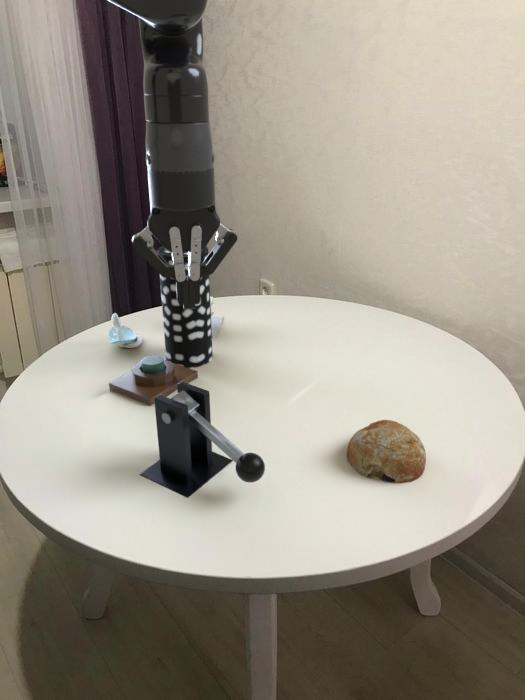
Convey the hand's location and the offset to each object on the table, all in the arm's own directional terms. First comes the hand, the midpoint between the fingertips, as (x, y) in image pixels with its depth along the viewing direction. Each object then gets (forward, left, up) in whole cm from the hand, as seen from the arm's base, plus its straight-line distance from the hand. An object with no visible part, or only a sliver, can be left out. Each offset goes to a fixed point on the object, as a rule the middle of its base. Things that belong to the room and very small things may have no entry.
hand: (188, 306), depth 74 cm
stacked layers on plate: (+31, +26, -20) cm, 45 cm away
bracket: (-7, -4, -20) cm, 21 cm away
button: (+7, +15, -16) cm, 23 cm away
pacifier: (+17, +32, -20) cm, 41 cm away
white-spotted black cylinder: (+19, +18, -20) cm, 33 cm away
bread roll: (+9, -24, -20) cm, 33 cm away
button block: (+7, +15, -20) cm, 26 cm away
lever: (-7, -8, -14) cm, 18 cm away
